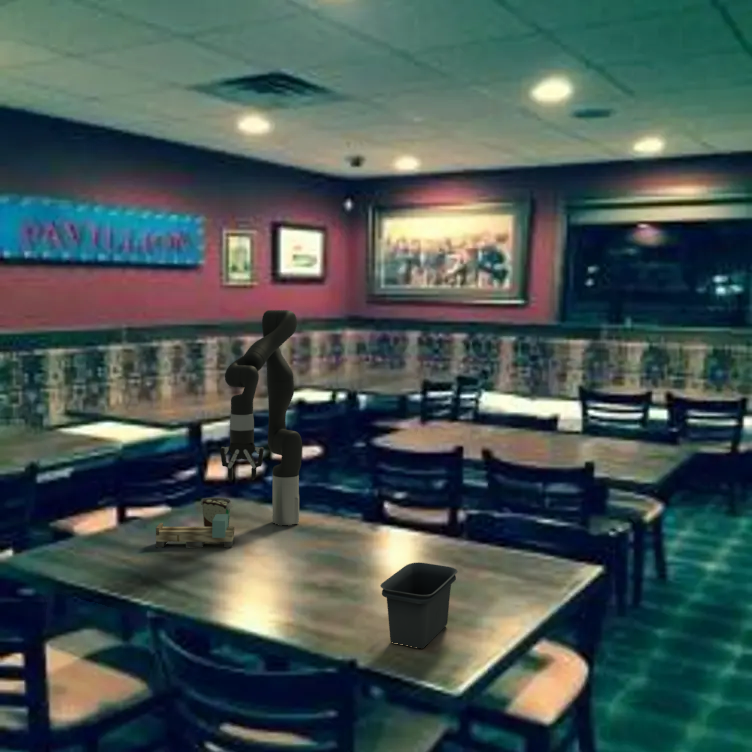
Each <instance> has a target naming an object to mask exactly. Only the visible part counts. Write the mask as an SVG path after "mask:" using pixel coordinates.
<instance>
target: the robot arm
mask: <svg viewBox="0 0 752 752" xmlns="http://www.w3.org/2000/svg"><path fill="white" fill-rule="evenodd" d="M297 327H298V319H297V317H296V314H295V312H294V311H292V310H287V309H281V310H280V309H275V310H273V309H270V310H266V311H264V312H263V315H262V320H261V329H262V338H259V339H258V340H256V341H255V342H254V343H252V345H250V346H249V348H248V349H247V350H246V352H245V353H244V354H243V355H242V356H240V357H239V358H237V359H236V360H234V361H233V362H231V363H230V365H229V366H227V368H226V370H225V373H224V380H225V383H226V384H227V386H229V387H232V388H243V391H242V393H240V394H235V395H232V396H231V399H230V421H229V446H226V447H225V446H221V448H220V449H219V451H220V460H221V466H222V467H225V468H227V477H228V479H229V480H230V481H233V480H234V467H233V465H234V464H235V461H236V460H244V461H245V460H247V462H248V463H249V464H250V467H251V473H250V474H251V481H254V480H255V479H256V478H257V468H259V467H261V466H262V465H263V459H264V451H265V447H263V446H259V447H258V446H256V445H255V418H254V400H255V395H256V391H257V388H258V383H259V379H260V376H259V371H261V369H262V368H263V367H264V366H265V364H266V387H267V396H268V398H267V399H268V400H267V401H268V425H267V426H268V428H267V429H268V430H267V444H268V445H267V446H268V448H269V451H270V452H271V453H272V454H274V455H277V456H281V459H280V463H279V464H277V465H274V466H273V467H272V516H271V517H272V524H273V523H275V524H274V525H276V524H279V525H278V526H282V525H288V526H292V525H291V524H297V525H299V523H300V488H299V487H300V484H299V483H300V479H299V478H300V469H301V466H302V455H303V441H302V436H301V435H300V433H299V432H298V431H295V430H291V429H287V423H286V416H287V411H288V409H289V406H290V404H291V402H292V400H293V397H294V392H295V384H294V382H295V381H294V372H293V370H292V369H291V367H290V365H289V363H288V361H287V360H286V359H285V358H284V355H283V354H282V352H281V349H280V347H281V346H282V345H283V344H284V343H286V342H287V341H288V339H290V338H291V337H292V336H293V335H294V333H296V329H297ZM255 451H256V454H257V455H258V458H257V462H256V461H255V459H254V456H253V453H255ZM228 452H230V454H231V455H232V456H231V459H230V461H229V462H228V460H227V454H228ZM298 522H299V523H298Z"/></svg>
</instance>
